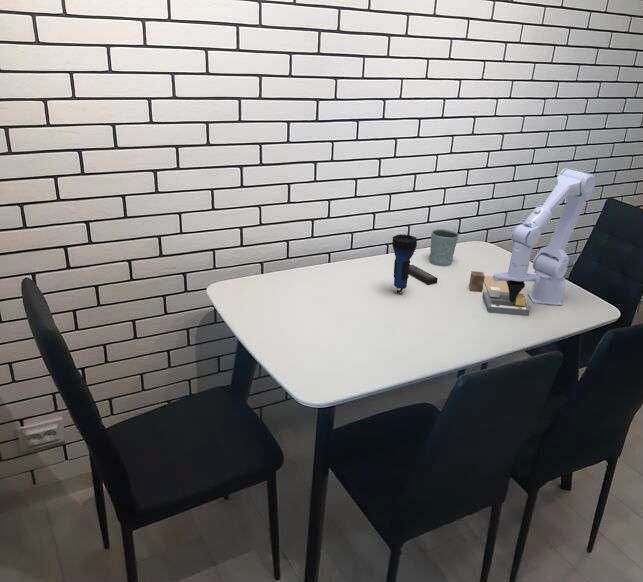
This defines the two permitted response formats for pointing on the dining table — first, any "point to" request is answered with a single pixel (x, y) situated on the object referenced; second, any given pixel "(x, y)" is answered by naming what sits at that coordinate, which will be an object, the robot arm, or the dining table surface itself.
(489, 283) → the mat
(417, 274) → the multiport hub
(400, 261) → the flashlight
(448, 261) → the green cup
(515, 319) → the dining table surface
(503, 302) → the switch panel
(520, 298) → the switch tab
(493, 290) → the switch tab
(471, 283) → the block
